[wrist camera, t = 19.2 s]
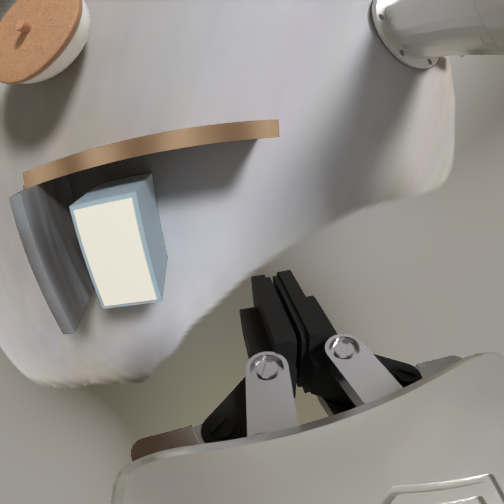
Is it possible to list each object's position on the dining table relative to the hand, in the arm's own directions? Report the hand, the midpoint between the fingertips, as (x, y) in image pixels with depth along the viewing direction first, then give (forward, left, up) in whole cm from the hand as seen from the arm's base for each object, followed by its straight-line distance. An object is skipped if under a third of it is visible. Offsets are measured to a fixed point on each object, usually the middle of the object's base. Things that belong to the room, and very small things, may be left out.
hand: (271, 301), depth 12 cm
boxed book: (+10, +2, -20) cm, 22 cm away
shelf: (+9, 0, -20) cm, 22 cm away
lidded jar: (+16, -21, -20) cm, 33 cm away
